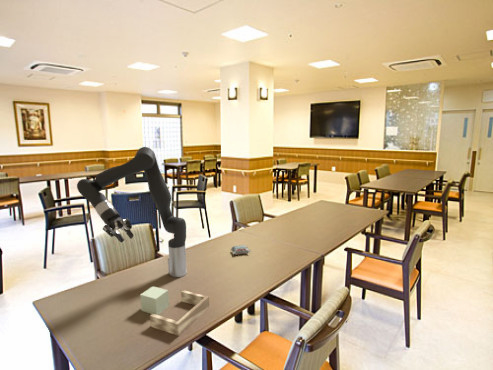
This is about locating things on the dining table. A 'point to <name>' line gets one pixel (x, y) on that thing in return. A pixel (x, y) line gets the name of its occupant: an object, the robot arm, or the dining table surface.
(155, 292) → the sage block
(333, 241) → the dining table surface
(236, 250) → the packaged food
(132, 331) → the dining table surface
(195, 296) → the birch corral
